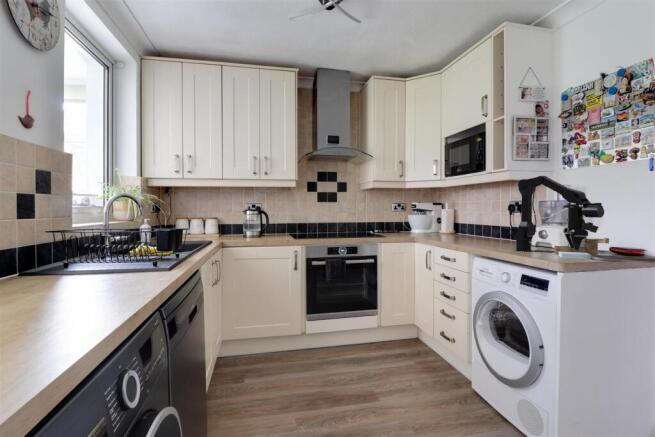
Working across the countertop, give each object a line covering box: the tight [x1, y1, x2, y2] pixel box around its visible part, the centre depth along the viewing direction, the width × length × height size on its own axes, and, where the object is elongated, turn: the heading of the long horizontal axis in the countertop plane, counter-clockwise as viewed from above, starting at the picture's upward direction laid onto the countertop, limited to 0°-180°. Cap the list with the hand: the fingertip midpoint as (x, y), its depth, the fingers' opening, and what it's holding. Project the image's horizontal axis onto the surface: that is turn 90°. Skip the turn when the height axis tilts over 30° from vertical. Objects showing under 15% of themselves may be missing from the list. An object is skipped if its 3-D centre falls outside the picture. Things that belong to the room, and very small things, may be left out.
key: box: [586, 237, 610, 244], centre depth 154 cm, size 8×3×2 cm, turn 63°
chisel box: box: [554, 237, 599, 258], centre depth 158 cm, size 16×6×8 cm, turn 63°
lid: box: [558, 252, 592, 260], centre depth 151 cm, size 11×7×2 cm, turn 63°
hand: (574, 249), depth 151 cm, fingers open, 9 cm apart
